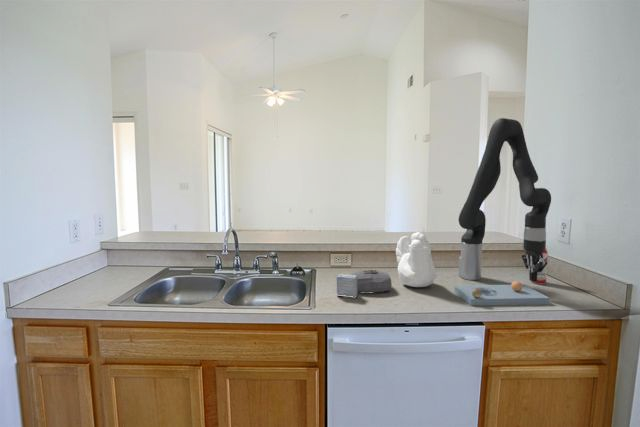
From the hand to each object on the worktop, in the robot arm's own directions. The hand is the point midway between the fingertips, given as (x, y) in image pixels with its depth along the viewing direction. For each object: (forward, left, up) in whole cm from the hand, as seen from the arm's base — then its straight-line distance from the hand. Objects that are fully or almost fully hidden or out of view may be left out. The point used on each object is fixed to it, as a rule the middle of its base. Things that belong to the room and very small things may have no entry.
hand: (533, 280), depth 137 cm
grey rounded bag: (-40, -52, -7) cm, 66 cm away
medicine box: (-37, -65, -7) cm, 75 cm away
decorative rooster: (-37, -29, -7) cm, 48 cm away
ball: (-3, -6, -2) cm, 7 cm away
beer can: (-10, +20, -7) cm, 24 cm away
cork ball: (-6, -26, -2) cm, 26 cm away
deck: (-6, -12, -7) cm, 15 cm away
